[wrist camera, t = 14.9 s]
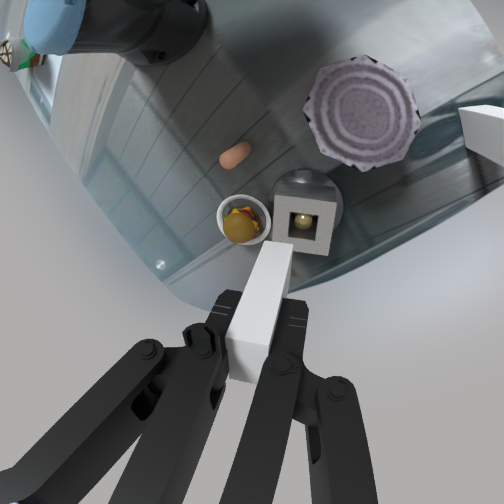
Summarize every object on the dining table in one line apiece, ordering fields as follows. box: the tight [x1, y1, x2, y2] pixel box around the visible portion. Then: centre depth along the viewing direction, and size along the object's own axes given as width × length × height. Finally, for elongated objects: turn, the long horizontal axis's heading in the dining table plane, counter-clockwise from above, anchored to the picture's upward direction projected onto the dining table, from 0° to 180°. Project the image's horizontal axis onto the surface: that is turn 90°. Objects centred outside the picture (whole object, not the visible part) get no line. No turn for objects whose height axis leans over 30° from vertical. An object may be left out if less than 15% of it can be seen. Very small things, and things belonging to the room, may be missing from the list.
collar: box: [272, 181, 337, 256], centre depth 37 cm, size 8×8×6 cm
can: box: [302, 55, 422, 172], centre depth 26 cm, size 11×11×12 cm
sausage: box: [219, 141, 252, 169], centre depth 35 cm, size 2×2×8 cm
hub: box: [269, 169, 344, 230], centre depth 38 cm, size 11×11×6 cm
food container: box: [0, 36, 46, 72], centre depth 28 cm, size 12×6×10 cm, turn 51°
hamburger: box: [217, 194, 271, 245], centre depth 42 cm, size 12×12×6 cm
